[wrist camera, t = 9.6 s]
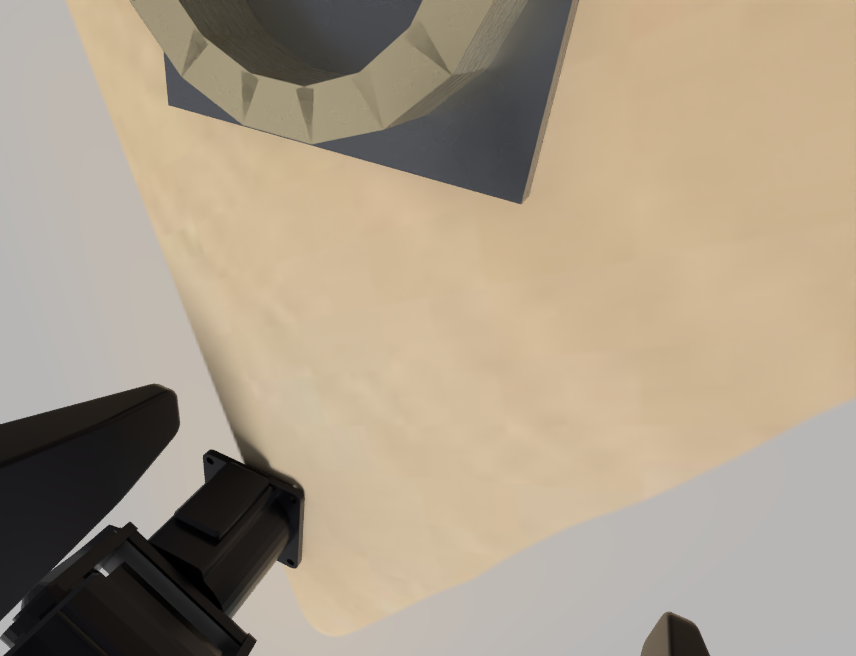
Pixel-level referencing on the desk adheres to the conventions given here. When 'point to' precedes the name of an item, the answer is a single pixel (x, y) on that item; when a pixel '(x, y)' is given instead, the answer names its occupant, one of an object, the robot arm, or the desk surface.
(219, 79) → the collar station
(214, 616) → the robot arm
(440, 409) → the desk surface
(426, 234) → the desk surface
